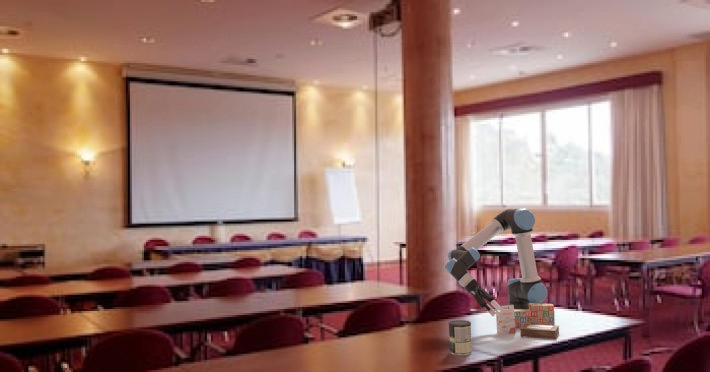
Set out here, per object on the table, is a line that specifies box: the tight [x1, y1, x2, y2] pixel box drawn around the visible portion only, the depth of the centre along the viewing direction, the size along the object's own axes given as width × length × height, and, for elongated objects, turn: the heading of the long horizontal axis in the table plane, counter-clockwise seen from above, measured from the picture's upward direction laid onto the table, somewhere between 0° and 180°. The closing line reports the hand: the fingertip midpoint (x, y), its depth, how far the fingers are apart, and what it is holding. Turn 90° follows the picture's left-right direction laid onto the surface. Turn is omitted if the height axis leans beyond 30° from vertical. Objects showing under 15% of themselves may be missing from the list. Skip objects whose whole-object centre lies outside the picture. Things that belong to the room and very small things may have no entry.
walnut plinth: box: [520, 324, 560, 340], centre depth 325 cm, size 13×17×4 cm
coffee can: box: [448, 319, 473, 356], centre depth 294 cm, size 10×10×14 cm
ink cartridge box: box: [495, 304, 516, 335], centre depth 333 cm, size 9×5×15 cm, turn 105°
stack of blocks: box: [514, 302, 556, 329], centre depth 345 cm, size 21×6×12 cm, turn 84°
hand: (497, 312), depth 334 cm, fingers open, 13 cm apart
